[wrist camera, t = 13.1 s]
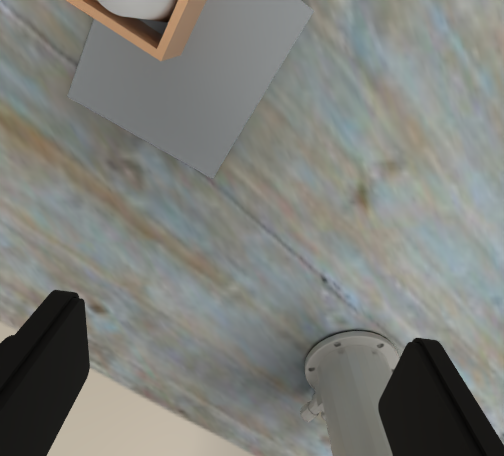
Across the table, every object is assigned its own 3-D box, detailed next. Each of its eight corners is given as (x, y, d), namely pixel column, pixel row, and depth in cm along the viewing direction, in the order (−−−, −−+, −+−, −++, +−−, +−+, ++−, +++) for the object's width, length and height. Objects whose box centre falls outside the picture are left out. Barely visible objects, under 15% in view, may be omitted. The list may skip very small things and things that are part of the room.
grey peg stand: (213, 174, 34) (198, 231, 24) (73, 94, 30) (-12, 123, 20) (311, 11, 27) (345, -1, 18) (147, -117, 24) (74, -222, 14)
